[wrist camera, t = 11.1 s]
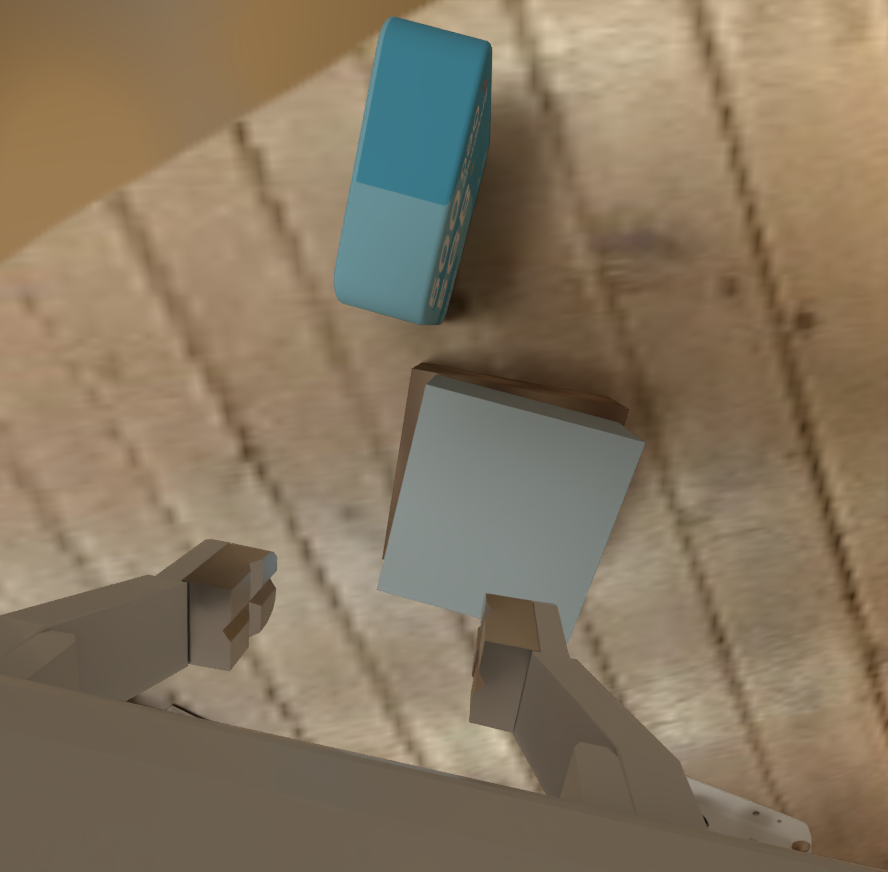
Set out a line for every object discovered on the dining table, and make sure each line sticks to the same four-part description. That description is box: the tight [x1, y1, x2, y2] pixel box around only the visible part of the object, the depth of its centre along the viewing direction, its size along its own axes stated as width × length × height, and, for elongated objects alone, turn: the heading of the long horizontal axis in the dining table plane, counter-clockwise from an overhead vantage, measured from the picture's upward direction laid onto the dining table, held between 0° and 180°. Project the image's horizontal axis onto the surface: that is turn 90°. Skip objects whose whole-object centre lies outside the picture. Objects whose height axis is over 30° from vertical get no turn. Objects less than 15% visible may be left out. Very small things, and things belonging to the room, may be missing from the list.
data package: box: [334, 17, 492, 325], centre depth 25 cm, size 12×4×12 cm, turn 165°
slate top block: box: [377, 374, 646, 643], centre depth 27 cm, size 12×13×5 cm
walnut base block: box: [382, 363, 629, 560], centre depth 32 cm, size 14×14×5 cm
